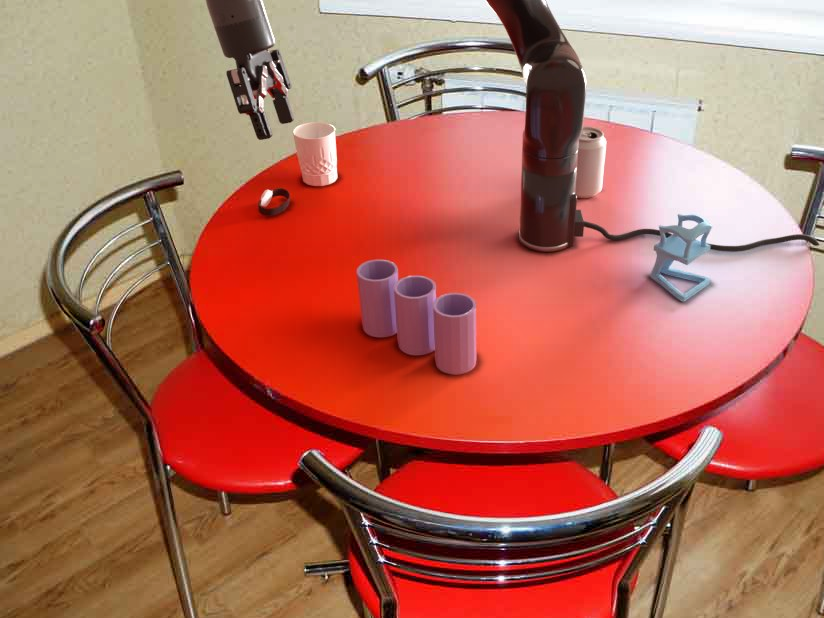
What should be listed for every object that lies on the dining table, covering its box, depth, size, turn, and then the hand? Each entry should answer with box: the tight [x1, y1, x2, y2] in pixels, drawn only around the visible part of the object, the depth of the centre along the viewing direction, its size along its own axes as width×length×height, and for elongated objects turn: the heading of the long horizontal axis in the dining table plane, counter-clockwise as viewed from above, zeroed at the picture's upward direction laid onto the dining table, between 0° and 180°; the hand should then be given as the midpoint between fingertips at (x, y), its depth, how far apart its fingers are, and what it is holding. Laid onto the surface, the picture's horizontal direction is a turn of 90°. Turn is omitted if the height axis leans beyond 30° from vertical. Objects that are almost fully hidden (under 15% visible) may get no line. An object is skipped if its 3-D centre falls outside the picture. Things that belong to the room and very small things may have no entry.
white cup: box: [292, 121, 338, 187], centre depth 164 cm, size 8×8×10 cm
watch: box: [257, 187, 291, 217], centre depth 157 cm, size 8×5×4 cm, turn 159°
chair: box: [649, 213, 713, 303], centre depth 136 cm, size 8×8×12 cm
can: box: [575, 125, 607, 199], centre depth 161 cm, size 8×8×12 cm
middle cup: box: [394, 274, 437, 356], centre depth 123 cm, size 6×6×10 cm
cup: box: [433, 292, 477, 376], centre depth 120 cm, size 6×6×10 cm
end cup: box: [356, 258, 400, 338], centre depth 126 cm, size 6×6×10 cm
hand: (276, 130), depth 129 cm, fingers open, 8 cm apart
